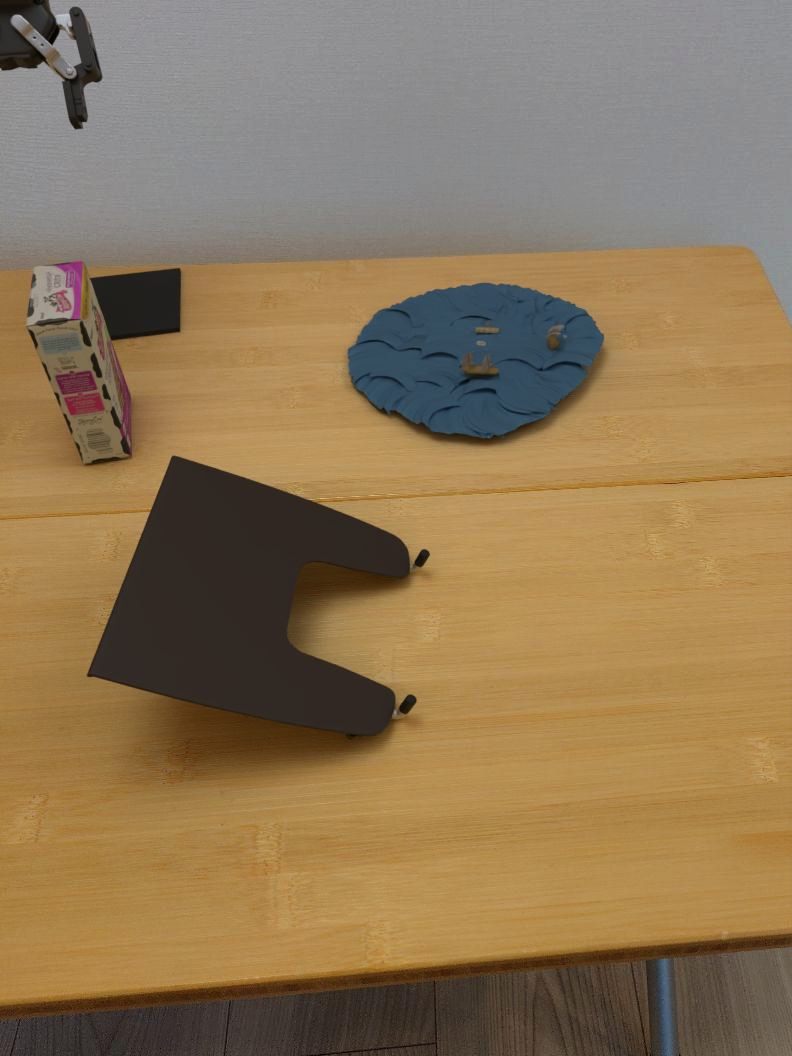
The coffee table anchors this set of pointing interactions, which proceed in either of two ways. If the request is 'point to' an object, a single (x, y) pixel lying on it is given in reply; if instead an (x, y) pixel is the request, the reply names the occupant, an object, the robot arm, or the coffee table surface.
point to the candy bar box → (80, 360)
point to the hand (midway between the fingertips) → (28, 129)
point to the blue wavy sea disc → (474, 357)
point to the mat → (140, 302)
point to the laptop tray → (242, 603)
